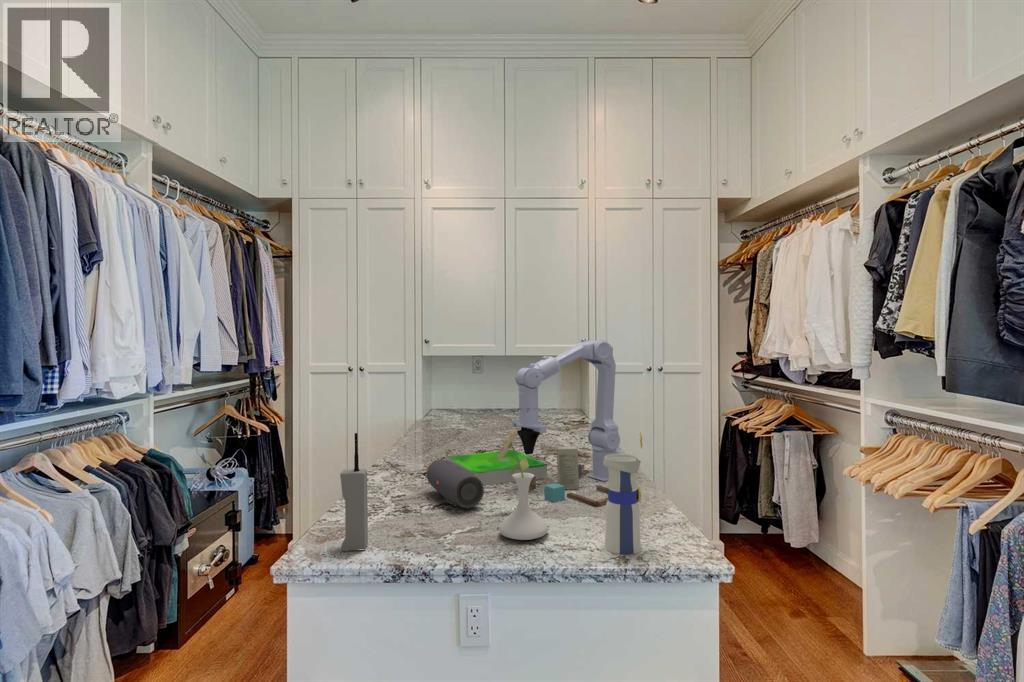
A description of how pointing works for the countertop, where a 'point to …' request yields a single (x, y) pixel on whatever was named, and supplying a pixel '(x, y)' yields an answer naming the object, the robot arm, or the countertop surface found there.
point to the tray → (498, 466)
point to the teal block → (554, 492)
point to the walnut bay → (590, 501)
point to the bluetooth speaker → (455, 483)
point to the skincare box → (568, 466)
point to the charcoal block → (579, 470)
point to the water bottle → (623, 504)
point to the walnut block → (532, 483)
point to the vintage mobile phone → (355, 505)
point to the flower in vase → (521, 502)
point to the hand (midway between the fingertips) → (528, 453)
